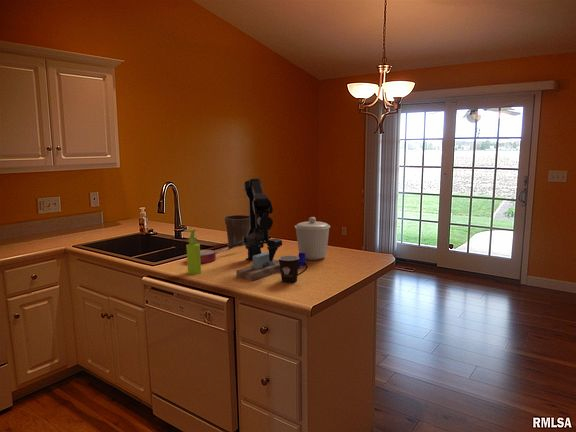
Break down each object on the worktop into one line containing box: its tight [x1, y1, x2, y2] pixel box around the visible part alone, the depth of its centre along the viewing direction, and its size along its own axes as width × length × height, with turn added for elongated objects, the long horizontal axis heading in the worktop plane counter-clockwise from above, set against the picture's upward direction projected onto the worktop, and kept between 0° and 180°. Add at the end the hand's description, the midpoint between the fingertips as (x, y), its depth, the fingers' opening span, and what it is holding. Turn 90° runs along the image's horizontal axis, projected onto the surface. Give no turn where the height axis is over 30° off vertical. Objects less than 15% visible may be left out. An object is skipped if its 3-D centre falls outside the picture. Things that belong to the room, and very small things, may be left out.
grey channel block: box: [252, 251, 274, 270], centre depth 196 cm, size 3×10×8 cm, turn 140°
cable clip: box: [297, 252, 307, 270], centre depth 204 cm, size 12×4×6 cm, turn 142°
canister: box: [294, 216, 331, 261], centre depth 221 cm, size 18×18×21 cm
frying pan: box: [200, 241, 243, 265], centre depth 228 cm, size 32×13×6 cm, turn 139°
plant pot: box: [223, 214, 250, 246], centre depth 258 cm, size 16×16×16 cm
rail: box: [235, 258, 281, 282], centre depth 197 cm, size 10×24×3 cm, turn 141°
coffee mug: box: [278, 255, 308, 284], centre depth 182 cm, size 12×9×10 cm
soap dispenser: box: [182, 228, 202, 275], centre depth 197 cm, size 6×7×20 cm
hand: (263, 259), depth 196 cm, fingers open, 9 cm apart
